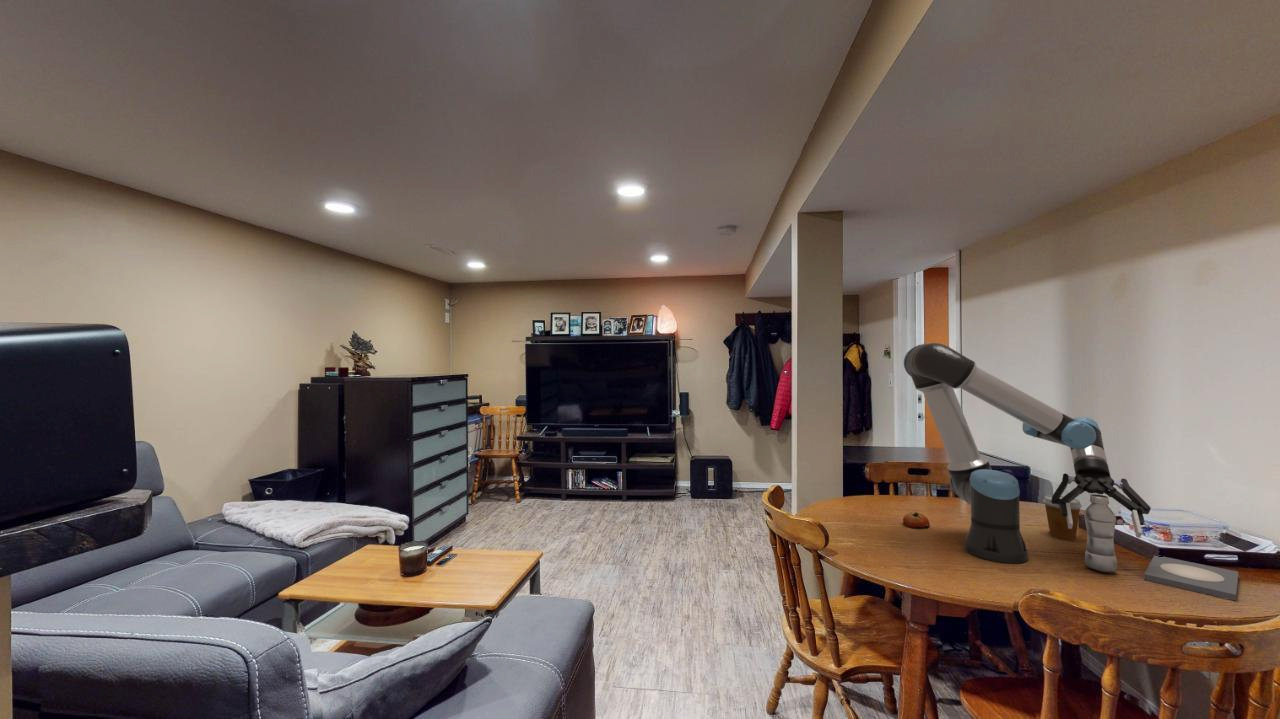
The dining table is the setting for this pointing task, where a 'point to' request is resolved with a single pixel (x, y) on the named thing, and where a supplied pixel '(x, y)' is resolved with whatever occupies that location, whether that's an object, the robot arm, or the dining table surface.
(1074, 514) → the disposable coffee cup
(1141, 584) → the dining table surface
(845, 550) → the dining table surface
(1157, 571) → the board
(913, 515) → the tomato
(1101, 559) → the plastic bottle
